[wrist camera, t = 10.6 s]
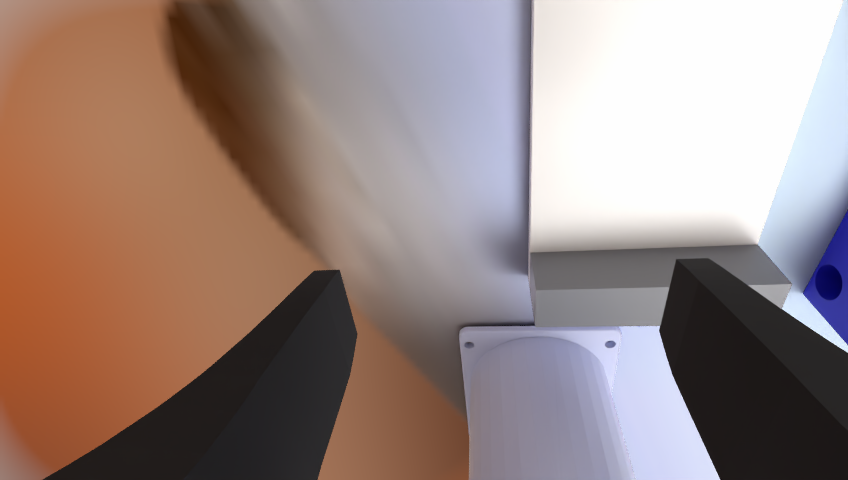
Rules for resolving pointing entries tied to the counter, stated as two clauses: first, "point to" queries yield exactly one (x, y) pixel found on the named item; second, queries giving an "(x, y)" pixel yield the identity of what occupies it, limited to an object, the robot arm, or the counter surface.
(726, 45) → the clip dock
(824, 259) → the cable clip
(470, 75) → the counter surface
